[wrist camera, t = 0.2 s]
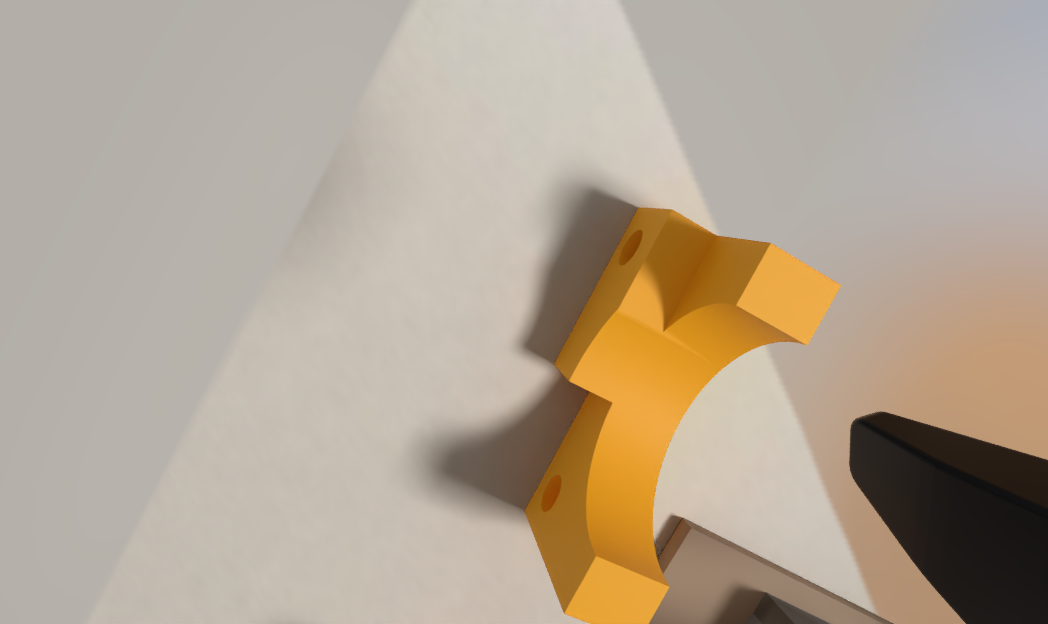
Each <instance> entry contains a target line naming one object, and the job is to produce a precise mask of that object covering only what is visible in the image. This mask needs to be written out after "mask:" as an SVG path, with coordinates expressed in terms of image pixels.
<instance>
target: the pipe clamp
mask: <svg viewBox="0 0 1048 624" xmlns="http://www.w3.org/2000/svg"><path fill="white" fill-rule="evenodd" d="M840 287H841V285H840V284H838V283H836V282H835V281H833V280H832V279H830V278H828V277H826V276H825V275H823V274H822V273H820V272H818V271H816V270H815V269H813V268H811V267H810V266H808V265H806V264H805V263H803V262H801V261H800V260H798V259H797V258H795V257H793V256H791V255H790V254H788V253H787V252H785V251H783V250H782V249H780V248H778V247H777V246H775V245H773V244H771V243H766V242H759V241H752V240H745V239H738V238H730V237H723V236H716V235H715V234H713V233H711V232H710V231H708V230H706V229H704V228H703V227H701V226H699V225H698V224H696V223H694V222H693V221H691V220H689V219H687V218H686V217H684V216H682V215H681V214H679V213H677V212H676V211H674V210H671V209H656V208H640V207H638V209H637V211H636V213H635V215H634V217H633V218H632V220H631V222H630V224H629V226H628V228H627V230H626V231H625V233H624V235H623V237H622V239H621V241H620V243H619V244H618V246H617V248H616V250H615V252H614V254H613V256H612V257H611V259H610V261H609V263H608V265H607V267H606V269H605V270H604V272H603V274H602V276H601V278H600V280H599V281H598V283H597V285H596V287H595V289H594V291H593V293H592V294H591V296H590V298H589V300H588V302H587V304H586V306H585V307H584V309H583V311H582V313H581V315H580V317H579V319H578V320H577V322H576V324H575V326H574V328H573V330H572V332H571V333H570V335H569V337H568V339H567V341H566V343H565V344H564V346H563V348H562V350H561V352H560V354H559V356H558V357H557V359H556V361H555V363H554V365H555V366H556V367H557V368H558V369H559V371H560V372H561V373H562V374H563V375H564V376H565V377H566V378H567V380H568V381H569V382H571V383H574V384H576V385H578V386H580V387H582V388H584V389H586V390H588V391H590V392H589V394H588V396H587V398H586V399H585V401H584V403H583V405H582V407H581V409H580V410H579V412H578V414H577V416H576V418H575V419H574V421H573V423H572V425H571V427H570V429H569V430H568V432H567V434H566V436H565V438H564V440H563V441H562V443H561V445H560V447H559V449H558V451H557V452H556V454H555V456H554V458H553V460H552V462H551V463H550V465H549V467H548V469H547V471H546V473H545V474H544V476H543V478H542V480H541V482H540V484H539V485H538V487H537V489H536V491H535V493H534V495H533V496H532V498H531V500H530V502H529V504H528V506H527V507H526V509H525V514H526V516H527V519H528V521H529V524H530V526H531V529H532V532H533V534H534V537H535V539H536V542H537V545H538V547H539V550H540V552H541V555H542V558H543V560H544V563H545V565H546V568H547V571H548V573H549V576H550V578H551V581H552V583H553V586H554V589H555V591H556V594H557V596H558V599H559V602H560V604H561V607H562V609H563V612H564V614H567V615H569V616H572V617H574V618H577V619H579V620H582V621H585V622H587V623H590V624H649V622H650V621H651V619H652V617H653V615H654V614H655V612H656V610H657V608H658V607H659V605H660V603H661V601H662V600H663V598H664V596H665V594H666V592H667V591H668V589H669V587H670V586H669V585H668V583H667V581H666V580H665V578H664V576H663V573H662V571H661V569H660V566H659V563H658V560H657V556H656V551H655V546H654V538H653V506H654V497H655V491H656V485H657V481H658V476H659V472H660V469H661V466H662V462H663V459H664V456H665V454H666V451H667V448H668V446H669V443H670V441H671V439H672V436H673V434H674V432H675V430H676V428H677V426H678V424H679V423H680V421H681V419H682V417H683V416H684V414H685V412H686V411H687V409H688V408H689V406H690V405H691V403H692V402H693V400H694V399H695V398H696V396H697V395H698V394H699V393H700V391H701V390H702V389H703V388H704V386H705V385H706V384H707V383H708V382H709V381H710V380H711V379H712V378H713V377H714V376H715V375H716V374H717V373H718V372H719V371H720V370H721V369H723V368H724V367H725V366H726V365H728V364H729V363H730V362H732V361H733V360H735V359H736V358H737V357H739V356H741V355H742V354H744V353H746V352H748V351H750V350H752V349H754V348H757V347H759V346H763V345H766V344H769V343H775V342H796V343H801V344H805V345H808V343H809V342H810V340H811V338H812V336H813V335H814V333H815V331H816V329H817V327H818V326H819V324H820V322H821V320H822V319H823V317H824V315H825V313H826V311H827V310H828V308H829V306H830V305H831V303H832V301H833V299H834V298H835V296H836V294H837V292H838V291H839V289H840Z"/></svg>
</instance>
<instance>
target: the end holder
mask: <svg viewBox="0 0 1048 624" xmlns="http://www.w3.org/2000/svg"><path fill="white" fill-rule="evenodd" d="M658 563H659V566H660V569H661V571H662V573H663V576H664V578H665V580H666V581H667V583H668V585H669V586H670V587H669V589H668V591H667V592H666V594H665V596H664V598H663V600H662V601H661V603H660V605H659V607H658V608H657V610H656V612H655V614H654V615H653V617H652V619H651V621H650V622H649V624H893V623H891V622H889V621H887V620H885V619H883V618H881V617H879V616H877V615H875V614H873V613H871V612H869V611H867V610H865V609H863V608H861V607H859V606H857V605H855V604H853V603H851V602H849V601H847V600H845V599H843V598H841V597H839V596H837V595H835V594H833V593H831V592H829V591H827V590H825V589H823V588H821V587H819V586H817V585H815V584H813V583H811V582H809V581H807V580H805V579H803V578H801V577H799V576H797V575H795V574H793V573H791V572H789V571H787V570H785V569H783V568H781V567H779V566H777V565H775V564H773V563H771V562H769V561H767V560H766V559H764V558H762V557H760V556H758V555H756V554H754V553H752V552H750V551H748V550H746V549H744V548H742V547H740V546H738V545H736V544H734V543H732V542H730V541H728V540H726V539H724V538H722V537H720V536H718V535H716V534H714V533H712V532H710V531H708V530H706V529H704V528H702V527H700V526H698V525H696V524H694V523H692V522H690V521H688V520H686V519H684V518H683V519H682V520H681V522H680V524H679V525H678V527H677V529H676V530H675V532H674V534H673V535H672V537H671V538H670V540H669V542H668V543H667V545H666V547H665V548H664V550H663V552H662V553H661V555H660V556H659V558H658Z"/></svg>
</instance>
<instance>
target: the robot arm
mask: <svg viewBox="0 0 1048 624" xmlns="http://www.w3.org/2000/svg"><path fill="white" fill-rule="evenodd" d="M849 465H850V471H851V474H852V477H853V479H854V480H855V482H856V484H857V485H858V487H859V488H860V489H861V491H862V492H863V493H864V495H865V496H866V498H867V499H868V500H869V502H870V503H871V505H872V506H873V507H874V509H875V510H876V511H877V513H878V514H879V516H880V517H881V518H882V520H883V521H884V522H885V524H886V525H887V526H888V528H889V529H890V531H891V532H892V533H893V535H894V536H895V538H896V539H897V540H898V542H899V543H900V544H901V546H902V547H903V549H904V550H905V551H906V553H907V554H908V555H909V557H910V558H911V560H912V561H913V562H914V563H915V565H916V566H917V567H918V569H919V570H920V571H921V573H922V574H923V575H924V576H925V577H926V579H927V580H928V581H929V582H930V583H931V585H932V586H933V587H934V588H935V589H936V590H937V592H938V593H939V594H940V595H941V596H942V597H943V598H944V599H945V601H946V602H947V603H948V604H949V605H950V606H951V607H952V609H954V611H955V612H956V613H957V614H958V615H959V616H960V618H961V619H962V620H963V621H964V622H965V623H966V624H1048V460H1046V459H1042V458H1039V457H1036V456H1033V455H1029V454H1026V453H1022V452H1019V451H1016V450H1012V449H1008V448H1006V447H1002V446H999V445H995V444H992V443H989V442H985V441H982V440H978V439H975V438H972V437H968V436H965V435H961V434H958V433H954V432H951V431H948V430H944V429H941V428H938V427H934V426H931V425H928V424H924V423H920V422H917V421H914V420H911V419H907V418H904V417H900V416H897V415H894V414H890V413H887V412H875V413H872V414H869V415H865V416H862V417H859V418H857V419H855V420H854V421H853V422H852V425H851V430H850V460H849Z"/></svg>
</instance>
